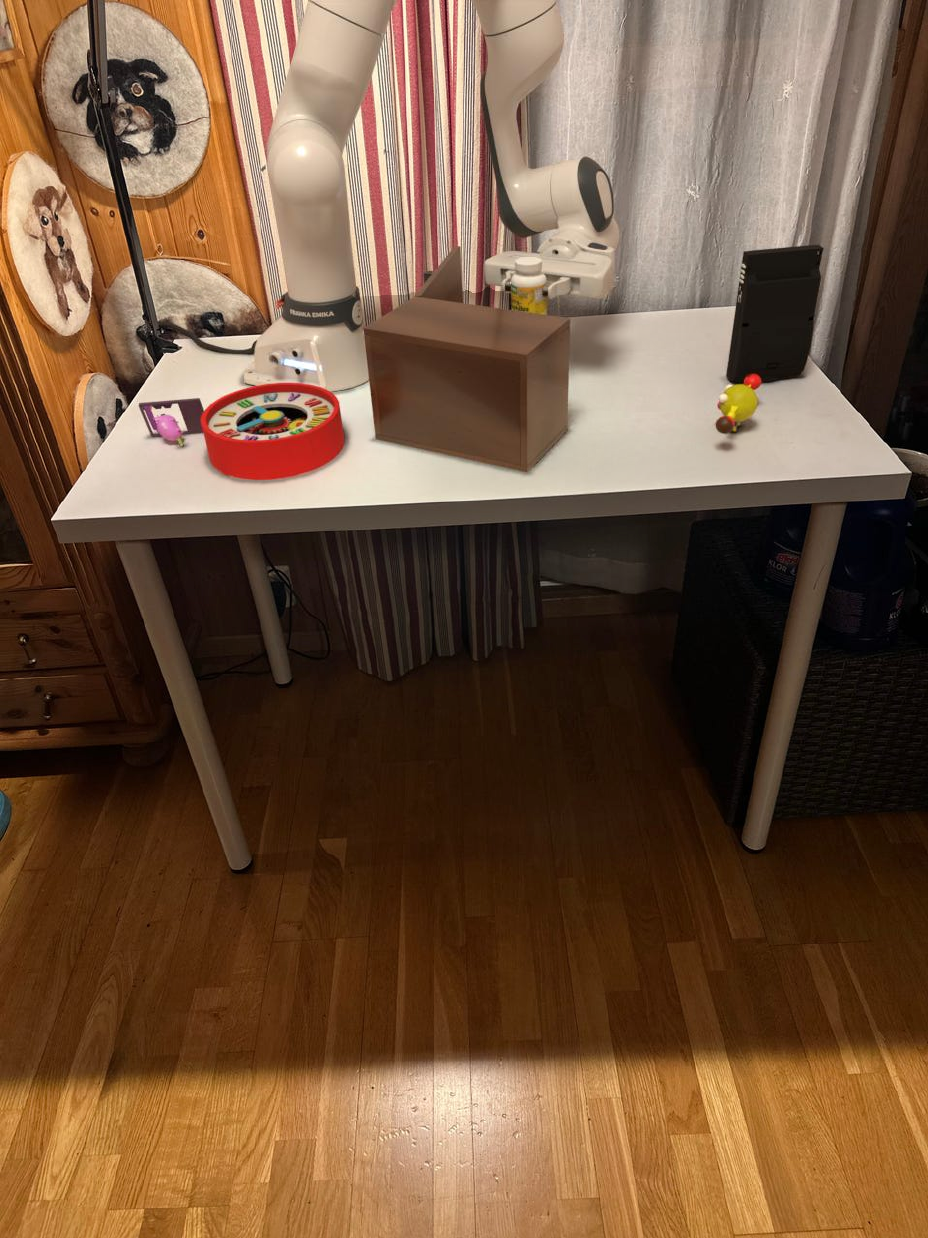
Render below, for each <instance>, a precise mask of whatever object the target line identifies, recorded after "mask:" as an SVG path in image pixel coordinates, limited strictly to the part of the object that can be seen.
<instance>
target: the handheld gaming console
mask: <svg viewBox="0 0 928 1238" xmlns="http://www.w3.org/2000/svg"><path fill="white" fill-rule="evenodd" d="M823 252H824V247H823V246H821V245H820V244H809V245H799V246H797V245H795V246H787V247H774V248H763V249H754V250H753V249H752V250H745V251H743V253H742V260H741V267H740V273H739V280H738V288H737V296H736V302H735V309H734V316H733V323H732V331H731V337H730V345H729V351H728V358H727V359H728V360H727V366H726V373H725V377H726V378H727V379H728V380H729V381H731V382H734V383H739V384H744V380H745V377H746V376H747V375H749V374H757V375H759V376H760V377H761V380H762V382H761V383H771V382H775V381H778V380H779V381H780V380H788V379H791V378H794V377H797V376H800V375H801V374H802V373H803V372H804V371H805V369H806V365H807V363H808V360H809V355H810V352H811V347H812V342H813V334H814V324H815V320H814V318H815V317H816V315H815V313H816V308H817V303H818V299H819V298H818V296H819V292H820V287H821V281H822V274H821V270H820V267H821V263H822V257H823Z"/></svg>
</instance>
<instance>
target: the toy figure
mask: <svg viewBox="0 0 928 1238" xmlns="http://www.w3.org/2000/svg"><path fill="white" fill-rule="evenodd" d="M762 383H763V382H762V380H761V377H760V376H759V375H757V374H749V375H747V376H746V377H745V380H744V383H738V384H737V383H736V384H726V386H725V388H724V391H723V393H721V394H719V396H718V402H717V406H716V407H717V409H718V410H719V411H721V414H722V415H723V416H720V417H719V418H718V419H717V420H716V422H715V429H716V430H717V432H718V433H720V434H722V435H723V434H724V435H727V434H730V433H735V434H736V433H737V429H738V428H740V426H741V422H744V421H746V420H748V419H750V418H751V417H752V416H753V415H754V413H755V412H756V410H757V409H758V403H759V400H758V395H757V393H756V390H757V389H759V388H760V386H761V385H762Z"/></svg>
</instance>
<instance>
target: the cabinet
mask: <svg viewBox="0 0 928 1238" xmlns="http://www.w3.org/2000/svg"><path fill="white" fill-rule="evenodd" d="M363 332H364V339H365V348H366V357H367V366H368V375H369V380H368V382H369V392H370V401H371V409H372V418H373V427H374V434H375V436H374V437H375V440H377V441H382V442H387V443H389V444H395V445H400V446H403V447H409V448H413V449H418V450H422V451H427V452H432V453H436V454H441V455H445V456H450V457H454V458H459V459H462V460H463V459H464V460H468V461H473V462H477V463H482V464H487V465H491V466H497V467H499V468H504V469H510V470H512V471H513V470H514V471H518V472H522V473H523V472H524V473H528V472H529V471H530V470H531V469H532V468H533V467H534V466H535V465H536V464H537V463H538V462H539V461H540V460H541V459H542V458H543V457H544V456H545V455H546V454H547V453H548V452H549V451H550V450H551V449H552V448H553V446H554V445H555V444H556V443H558V441H559V440H560V439H562V437H563V436H565V434H566V433H567V432H568V422H569V421H568V419H569V382H570V380H569V377H570V348H571V347H570V343H571V318H570V317H562V316H556V315H550V314H549V315H548V314H547V315H543V314H536V313H529V312H521V311H514V310H512V309H507V308H500V307H492V306H487V305H486V306H485V305H479V304H472V303H465V302H463V303H458V302H451V301H444V300H437V299H430V298H423V297H416V296H415V295H414V296H413V297H412V298H410V299H408V300H407V301H405V302H403V303H402V304H400V305H399V306H397V307H396V308H394V309H393V310H391V311H389V312H387V313H386V314H384V315H383V316H381V317H379V318H378V319H376V320H374V321H373V322H371V323H369V324H368V325H366V326H365V327H363Z"/></svg>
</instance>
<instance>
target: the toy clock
mask: <svg viewBox="0 0 928 1238" xmlns="http://www.w3.org/2000/svg"><path fill="white" fill-rule="evenodd" d="M340 405H341V404H340V401H339V399H338V397H337V396H336V395H335V394H334V393H333V392H330V391H328V390H326V389H324V388H321V387H318V386H314V385H309V384H302V383H272V384H264V385H258V386H255V385H252V386H249V387H245V388H242V389H239V390H235V391H233V392H230V393H228V394H225V395H223V396H221V397H219V398H218V399H216V400H215V401H213V402H212V403H210V404H209V405H208V406H207V407H206V408H205V409H204V412H203V414H202V417H201V424H202V429H203V433H202V434H203V437H204V441H205V445H206V449H207V455H208V459H209V463H210V464H211V466H212V467H213V468H214V469H215V471H218V472H219V473H221V474H222V475H225V476H228V477H232V478H237V479H240V480H241V479H243V480H249V481H250V480H251V481H272V480H281V479H282V480H283V479H287V478H293V477H296V476H300V475H304V474H306V473H310V472H312V471H315V470H317V469H319V468H322V467H323V466H325V465H327V464H328V463H331V461H333V460H334V459H335V458H336V457H337V456H339V455H340V453H341V452H342V450H343V448H344V446H345V433H344V428H343V421H342V413H341V406H340Z"/></svg>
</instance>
